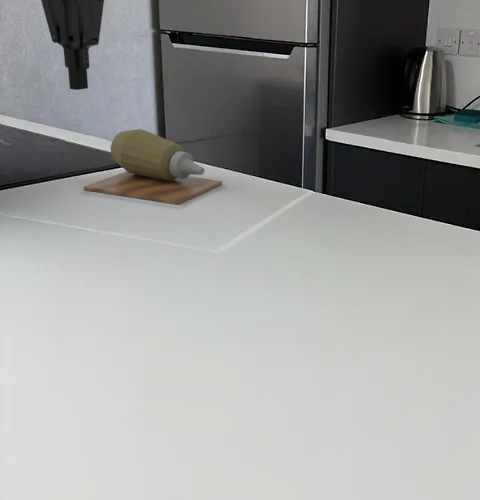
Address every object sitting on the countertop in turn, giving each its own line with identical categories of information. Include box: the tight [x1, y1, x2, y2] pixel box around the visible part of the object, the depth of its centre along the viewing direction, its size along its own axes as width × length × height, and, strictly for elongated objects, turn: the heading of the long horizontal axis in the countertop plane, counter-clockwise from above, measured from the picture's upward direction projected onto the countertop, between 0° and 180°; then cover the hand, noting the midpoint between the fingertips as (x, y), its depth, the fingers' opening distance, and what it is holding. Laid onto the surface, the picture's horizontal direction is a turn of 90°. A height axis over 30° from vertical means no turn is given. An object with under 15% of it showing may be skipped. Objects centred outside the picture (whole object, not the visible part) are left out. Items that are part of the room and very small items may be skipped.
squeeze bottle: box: [110, 128, 205, 181], centre depth 118 cm, size 8×8×18 cm
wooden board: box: [83, 171, 223, 205], centre depth 116 cm, size 18×14×1 cm
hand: (79, 88), depth 115 cm, fingers closed
